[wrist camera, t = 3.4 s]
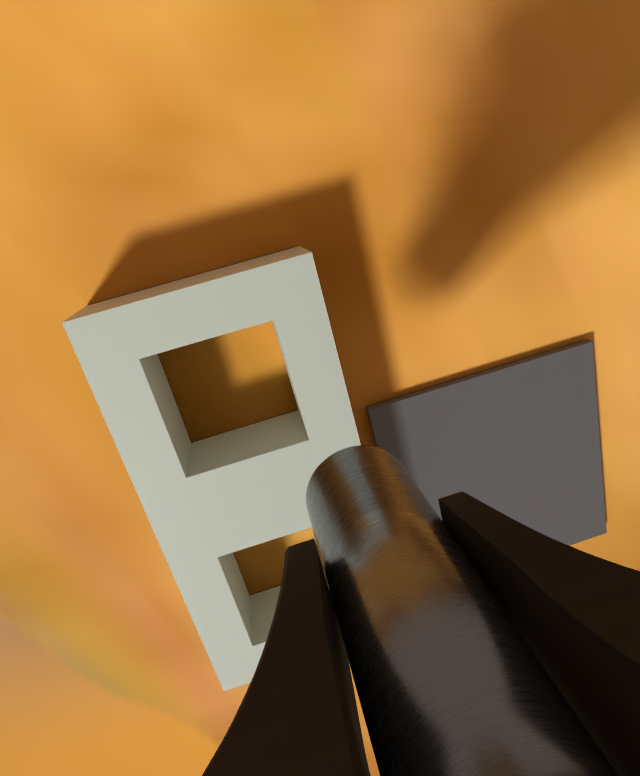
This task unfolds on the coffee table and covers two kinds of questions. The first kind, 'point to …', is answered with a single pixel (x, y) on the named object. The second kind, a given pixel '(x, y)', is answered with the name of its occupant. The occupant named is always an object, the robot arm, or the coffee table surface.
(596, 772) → the steel peg
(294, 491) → the socket block
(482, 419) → the rubber mat
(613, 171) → the coffee table surface
